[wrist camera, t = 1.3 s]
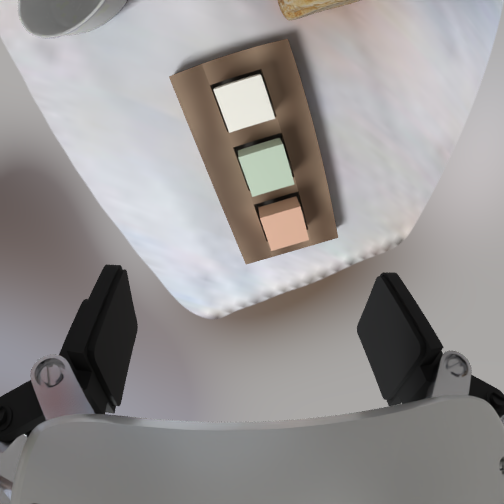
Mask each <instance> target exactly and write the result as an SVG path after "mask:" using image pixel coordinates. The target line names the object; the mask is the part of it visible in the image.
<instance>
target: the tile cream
mask: <svg viewBox="0 0 504 504" xmlns="http://www.w3.org/2000/svg"><path fill="white" fill-rule="evenodd" d="M214 93H215V95H216V98H217V101H218V104H219V106H220V109H221V112H222V114H223V117H224V120H225V122H226V125H227V128H228V131H229V133H230V132H233V131H236V130H240V129H243V128H246V127H249V126H252V125H255V124H259V123H262V122H265V121H269V120H272V119H275V116H274V113H273V110H272V107H271V104H270V101H269V97H268V94H267V91H266V88H265V85H264V82H263V79H262V76H261V74H257V75H253V76H250V77H246V78H243V79H240V80H237V81H234V82H230V83H227V84H224V85H221V86H218V87H216V88H214Z"/></svg>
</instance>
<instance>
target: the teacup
mask: <svg viewBox="0 0 504 504" xmlns="http://www.w3.org/2000/svg"><path fill="white" fill-rule="evenodd" d="M126 2H127V0H18V14H19V18H20V21H21V23H22V25H23V27H24V28H25V29H26V30H27V31H28V32H29V33H30V34H32V35H33V36H36V37H39V38H56V37H60V36H68V35H76V34H82V33H86V32H89V31H92V30H94V29H96V28H99V27H100V26H102V25H104V24H105V23H107V22H108V21H110V20H111V19H112V18H113V17H114V16H115V15H116V14H117V13H118V12H119V11H120V10H121V9H122V8H123V6H124V5H125V3H126Z"/></svg>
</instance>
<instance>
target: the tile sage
mask: <svg viewBox="0 0 504 504" xmlns="http://www.w3.org/2000/svg"><path fill="white" fill-rule="evenodd" d="M238 158H239V161H240V164H241V166H242V169H243V172H244V175H245V177H246V180H247V183H248V186H249V189H250V191H251V194H252V197H254V196H257V195H260V194H264V193H267V192H270V191H274V190H277V189H280V188H284V187H287V186H291V185H294V181H293V177H292V173H291V170H290V166H289V163H288V159H287V156H286V153H285V149H284V146H283V143H282V141H281V140H280V138H277V139H273V140H270V141H266V142H263V143H260V144H257V145H253V146H250V147H247V148H244V149H241V150H238Z"/></svg>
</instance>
